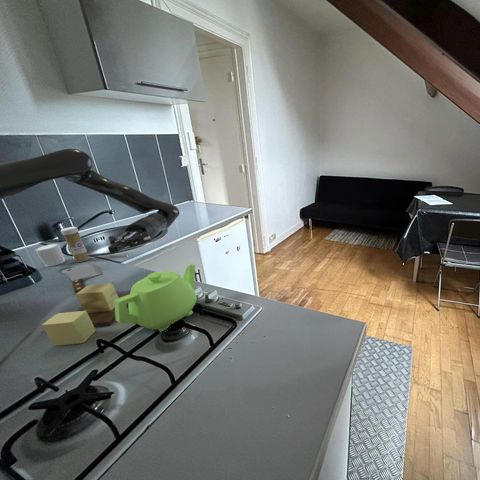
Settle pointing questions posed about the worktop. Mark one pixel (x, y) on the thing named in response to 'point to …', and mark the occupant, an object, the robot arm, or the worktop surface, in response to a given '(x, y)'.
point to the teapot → (158, 300)
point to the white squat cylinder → (50, 254)
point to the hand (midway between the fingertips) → (111, 250)
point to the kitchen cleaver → (81, 274)
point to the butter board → (99, 303)
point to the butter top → (69, 328)
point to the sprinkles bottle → (75, 244)
